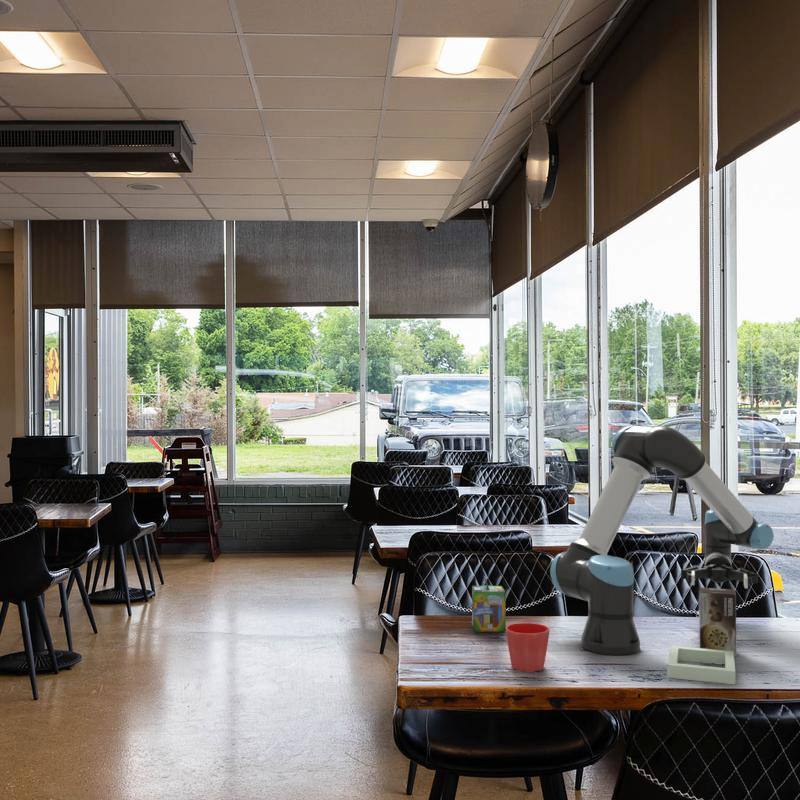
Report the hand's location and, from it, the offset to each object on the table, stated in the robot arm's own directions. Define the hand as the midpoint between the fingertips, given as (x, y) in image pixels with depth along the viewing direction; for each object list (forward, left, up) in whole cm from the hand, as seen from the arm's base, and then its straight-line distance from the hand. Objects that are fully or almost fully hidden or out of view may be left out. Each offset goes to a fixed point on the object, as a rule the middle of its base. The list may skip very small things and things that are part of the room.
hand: (719, 581), depth 243 cm
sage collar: (-14, -25, -16) cm, 33 cm away
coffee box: (-4, -9, -17) cm, 20 cm away
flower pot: (-56, -23, -17) cm, 63 cm away
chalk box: (-61, +15, -17) cm, 65 cm away
